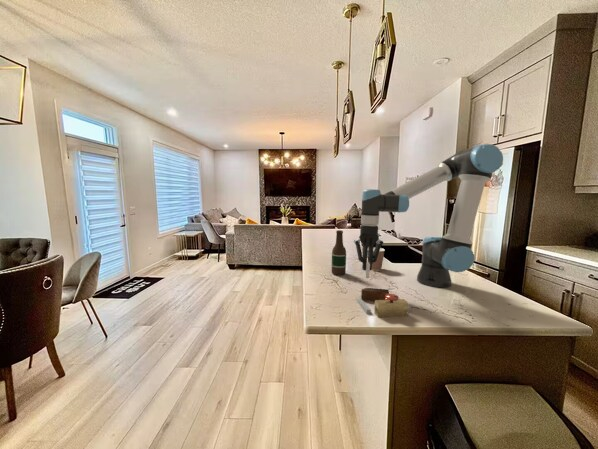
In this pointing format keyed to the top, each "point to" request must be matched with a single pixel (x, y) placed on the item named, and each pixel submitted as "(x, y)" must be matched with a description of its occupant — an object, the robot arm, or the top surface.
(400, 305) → the red dome button
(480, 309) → the top surface
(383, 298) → the brick
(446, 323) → the top surface
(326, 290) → the top surface
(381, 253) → the coffee cup
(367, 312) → the rails
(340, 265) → the beer bottle
